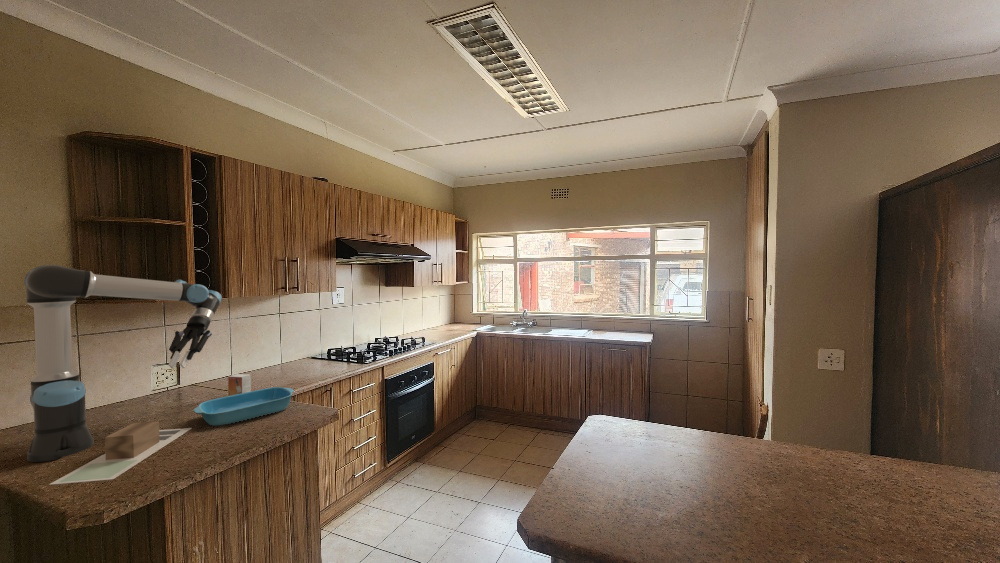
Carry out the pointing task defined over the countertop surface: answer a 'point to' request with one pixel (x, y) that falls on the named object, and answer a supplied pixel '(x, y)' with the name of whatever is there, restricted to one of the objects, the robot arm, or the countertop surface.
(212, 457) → the countertop surface
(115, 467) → the board
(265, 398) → the casserole dish
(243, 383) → the small box
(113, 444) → the walnut block
